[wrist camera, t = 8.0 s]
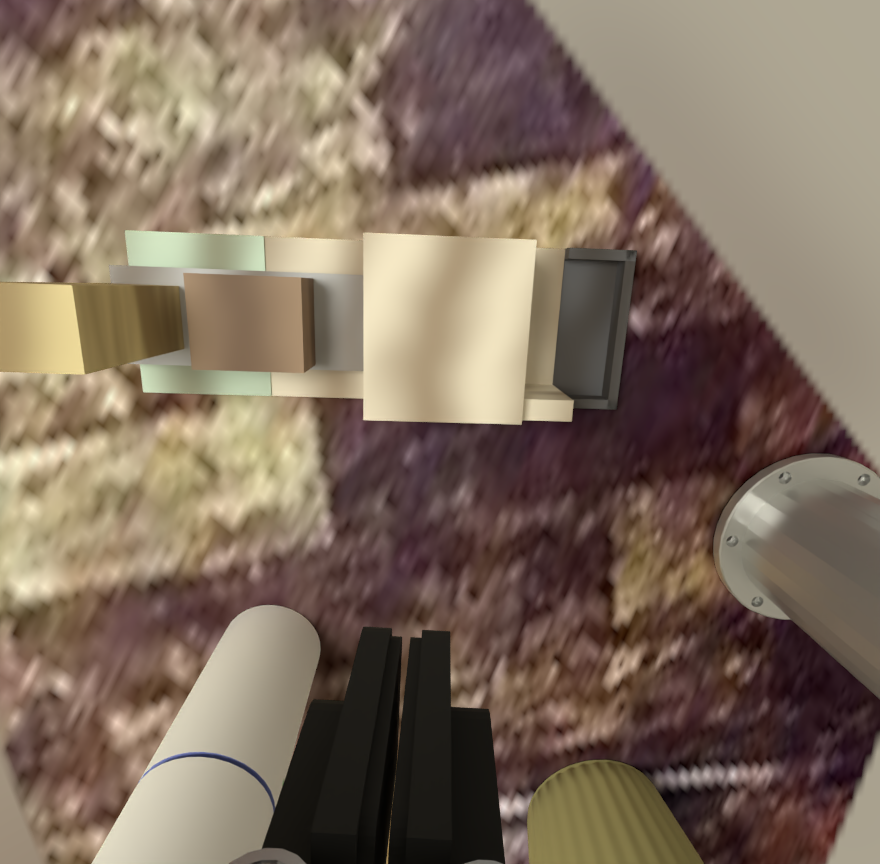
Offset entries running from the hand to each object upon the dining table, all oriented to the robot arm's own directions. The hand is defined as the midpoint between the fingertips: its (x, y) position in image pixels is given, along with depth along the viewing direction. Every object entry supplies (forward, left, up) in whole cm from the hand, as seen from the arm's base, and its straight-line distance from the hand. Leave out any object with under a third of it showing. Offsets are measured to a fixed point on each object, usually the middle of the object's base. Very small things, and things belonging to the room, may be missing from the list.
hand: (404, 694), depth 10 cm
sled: (+9, -5, -24) cm, 27 cm away
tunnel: (+2, -5, -25) cm, 26 cm away
